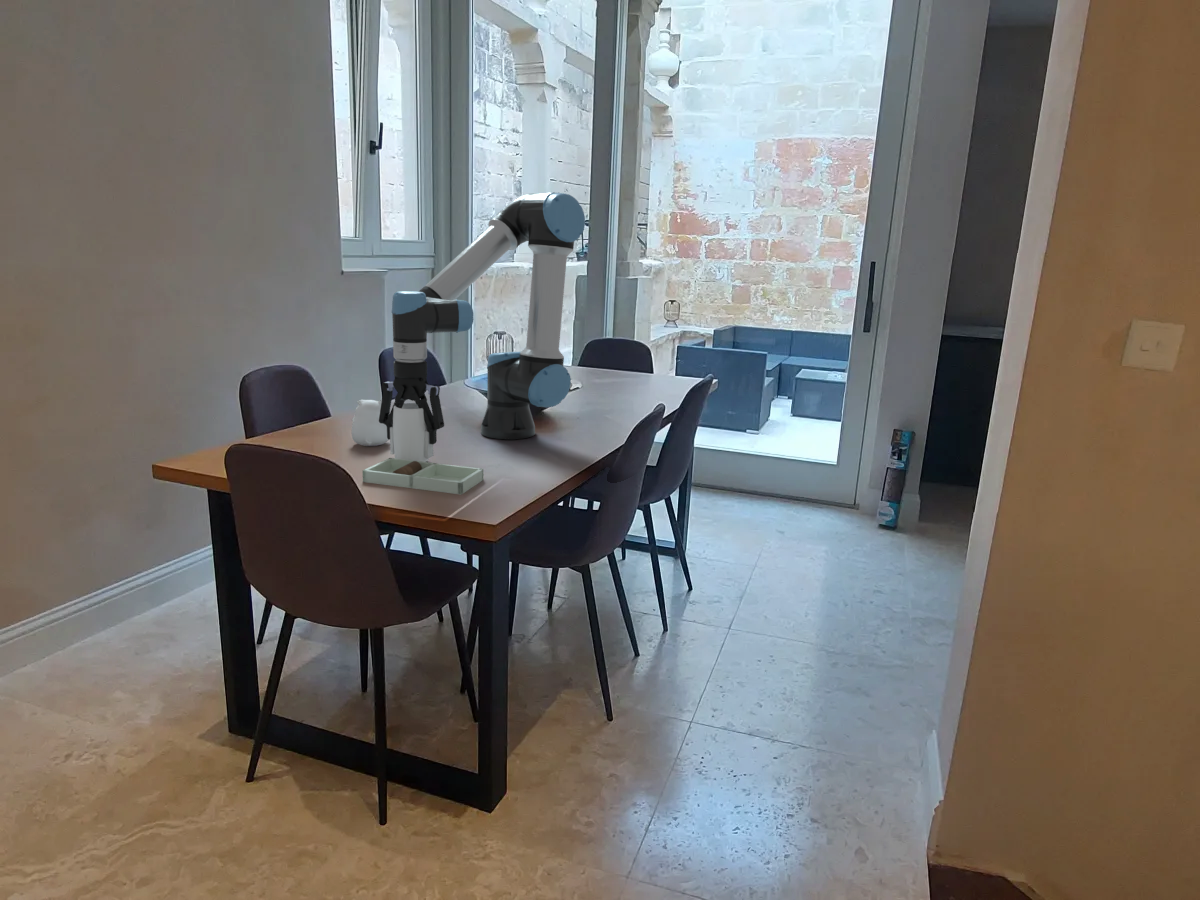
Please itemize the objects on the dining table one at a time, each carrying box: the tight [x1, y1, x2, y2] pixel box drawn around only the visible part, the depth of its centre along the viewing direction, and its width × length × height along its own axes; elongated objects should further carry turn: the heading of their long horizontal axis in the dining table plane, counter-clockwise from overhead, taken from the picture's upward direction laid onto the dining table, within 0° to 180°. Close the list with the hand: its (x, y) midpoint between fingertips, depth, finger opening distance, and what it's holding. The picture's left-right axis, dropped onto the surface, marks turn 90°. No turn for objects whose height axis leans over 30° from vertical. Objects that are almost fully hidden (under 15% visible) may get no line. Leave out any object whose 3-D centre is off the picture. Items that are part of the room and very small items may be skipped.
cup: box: [393, 402, 430, 462], centre depth 185 cm, size 8×8×14 cm
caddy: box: [362, 457, 484, 495], centre depth 173 cm, size 12×23×3 cm, turn 75°
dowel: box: [393, 461, 422, 475], centre depth 174 cm, size 8×3×3 cm
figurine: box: [351, 399, 390, 447], centre depth 201 cm, size 10×10×12 cm
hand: (411, 454), depth 187 cm, fingers closed on cup, 8 cm apart
